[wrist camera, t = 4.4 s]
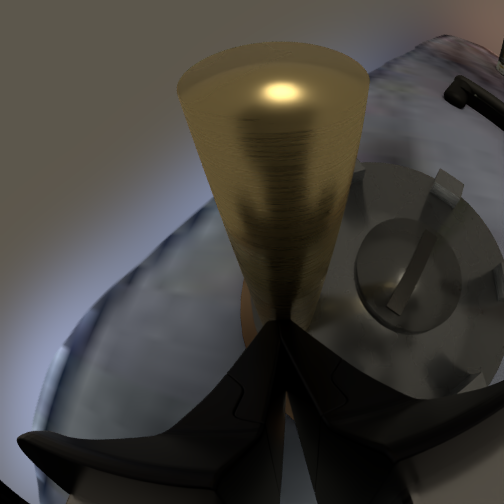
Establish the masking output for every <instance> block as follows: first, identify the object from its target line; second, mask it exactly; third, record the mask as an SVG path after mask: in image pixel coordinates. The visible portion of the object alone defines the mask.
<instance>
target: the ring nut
mask: <svg viewBox="0 0 504 504" xmlns="http://www.w3.org/2000/svg"><path fill="white" fill-rule="evenodd" d="M369 82H370V79H369V75H368V73H367V72H366V70H365V69H364V68H363V67H362V66H361V65H360V64H359V63H358V62H357V61H355V60H353V59H352V58H350V57H349V56H347V55H345V54H343V53H340V52H338V51H335V50H332V49H329V48H326V47H322V46H318V45H313V44H306V43H298V42H263V43H255V44H249V45H243V46H239V47H235V48H231V49H228V50H224V51H222V52H219V53H216V54H214V55H211V56H209V57H207V58H205V59H203V60H201V61H200V62H198V63H197V64H195V65H194V66H192V67H191V68H190V69H188V70H187V71H186V72H185V73H184V74H183V76H182V77H181V78H180V80H179V82H178V85H177V94H178V97H179V100H180V103H181V106H182V109H183V112H184V115H185V118H186V120H187V123H188V126H189V129H190V132H191V135H192V137H193V140H194V143H195V146H196V149H197V152H198V154H199V157H200V160H201V163H202V166H203V168H204V171H205V174H206V176H207V180H208V182H209V185H210V188H211V191H212V193H213V196H214V199H215V202H216V204H217V207H218V210H219V212H220V215H221V218H222V221H223V223H224V226H225V229H226V231H227V234H228V237H229V239H230V242H231V245H232V247H233V250H234V253H235V255H236V258H237V261H238V263H239V266H240V269H241V271H242V274H243V277H244V279H245V282H246V284H247V287H248V290H249V292H250V295H251V305H252V312H253V319H254V323H255V327H256V330H257V333H258V332H259V331H260V330H261V328H262V327H263V326H264V324H265V323H266V322H267V321H271V320H288V319H290V320H292V321H293V322H294V323H296V324H297V325H298V326H300V327H301V328H302V329H304V330H305V331H306V332H308V333H309V334H310V335H312V336H313V337H314V338H316V339H317V340H318V341H320V342H321V343H322V344H324V345H325V346H326V347H328V348H329V349H330V350H332V351H333V352H335V353H336V354H337V355H339V356H340V357H341V358H342V359H344V360H346V361H347V362H348V363H350V364H351V365H353V366H354V367H356V368H357V369H359V370H360V371H362V372H363V373H365V374H367V375H369V376H370V377H372V378H374V379H376V380H378V381H380V382H382V383H384V384H385V385H387V386H389V387H391V388H393V389H395V390H397V391H399V392H401V393H403V394H405V395H408V396H410V397H413V398H416V399H433V398H439V397H445V396H450V395H455V394H460V393H464V392H468V391H473V390H477V389H481V388H484V387H487V386H488V385H489V384H490V382H491V381H492V379H493V377H494V375H495V374H496V372H497V370H498V368H499V366H500V363H501V361H502V358H503V356H504V259H503V256H502V254H501V252H500V249H499V247H498V245H497V243H496V241H495V239H494V237H493V235H492V234H491V232H490V230H489V229H488V227H487V226H486V224H485V223H484V222H483V220H482V219H481V217H480V216H479V215H478V214H477V213H476V212H475V210H474V209H473V208H472V207H471V206H470V205H469V204H468V203H467V202H466V201H465V200H464V199H463V198H462V197H461V195H462V191H463V187H464V184H463V183H461V182H460V181H458V180H457V179H456V178H454V177H453V176H451V175H450V174H448V173H447V172H445V171H443V170H442V169H440V170H439V172H438V174H437V176H436V178H435V179H434V178H432V177H430V176H428V175H426V174H424V173H421V172H419V171H416V170H413V169H410V168H407V167H403V166H399V165H394V164H387V163H371V162H364V163H360V161H359V160H358V159H357V153H358V148H359V143H360V138H361V133H362V127H363V122H364V116H365V110H366V103H367V97H368V90H369Z"/></svg>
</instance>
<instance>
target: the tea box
mask: <svg viewBox="0 0 504 504" xmlns="http://www.w3.org/2000/svg"><path fill="white" fill-rule="evenodd" d="M496 69H497V70H498V71H499V72H500V73H501V74H503V75H504V40H503V44H502V49H501V53H500V56H499V60H498V64H497V67H496Z"/></svg>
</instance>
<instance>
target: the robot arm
mask: <svg viewBox="0 0 504 504" xmlns="http://www.w3.org/2000/svg"><path fill="white" fill-rule="evenodd" d="M286 391H287V395H288V399H289V402H290V406H291V410H292V413H293V417H294V421H295V424H296V428H297V431H298V435H299V439H300V442H301V446H302V449H303V453H304V457H305V460H306V464H307V467H308V471H309V475H310V478H311V482H312V485H313V489H314V492H315V496H316V500H317V503H318V504H504V380H503V381H501V382H499V383H496V384H493V385H491V386H487V387H484V388H481V389H477V390H473V391H468V392H464V393H460V394H455V395H450V396H445V397H439V398H433V399H416V398H413V397H410V396H408V395H405V394H403V393H401V392H399V391H397V390H395V389H393V388H391V387H389V386H387V385H385V384H384V383H382V382H380V381H378V380H376V379H374V378H372V377H370V376H369V375H367V374H365V373H363V372H362V371H360V370H359V369H357V368H356V367H354V366H353V365H351V364H350V363H348V362H347V361H346V360H344V359H342V358H341V357H340V356H339V355H337V354H336V353H335V352H333V351H332V350H330V349H329V348H328V347H326V346H325V345H324V344H322V343H321V342H320V341H318V340H317V339H316V338H314V337H313V336H312V335H310V334H309V333H308V332H306V331H305V330H304V329H302V328H301V327H300V326H298V325H297V324H296V323H294V322H293V321H292V320H290V319H288V320H271V321H267V322H266V323H265V324H264V326H263V327H262V328H261V330H260V331H259V332H258V334H257V335H256V336H255V338H254V339H253V340H252V342H251V343H250V344H249V346H248V347H247V348H246V349H245V351H244V352H243V353H242V355H241V356H240V357H239V359H238V360H237V361H236V362H235V364H234V365H233V366H232V368H231V369H230V370H229V371H228V373H227V374H226V375H225V376H224V377H223V379H222V380H221V381H220V382H219V384H218V385H217V386H216V387H215V388H214V389H213V390H212V391H211V392H210V393H209V394H208V395H207V396H206V397H205V398H204V399H203V400H202V401H201V402H200V403H199V404H198V405H197V406H196V407H195V408H194V409H192V410H191V411H190V412H189V413H188V414H187V415H186V416H185V417H183V418H182V419H181V420H180V421H179V422H178V423H177V424H175V425H174V426H173V427H172V428H170V429H169V430H167V431H165V432H163V433H161V434H158V435H155V436H148V437H138V438H125V439H103V440H91V439H77V438H71V437H67V436H64V435H61V434H58V433H55V432H51V431H31V432H27V433H25V434H22V435H21V436H19V437H18V438H17V443H18V445H19V447H20V448H21V450H22V451H23V452H24V453H25V455H26V456H27V457H28V458H29V459H30V460H31V461H32V462H33V463H34V464H35V465H36V466H37V467H38V468H39V469H40V470H41V471H43V472H44V473H45V474H46V475H47V476H48V477H49V478H50V479H51V480H53V481H54V482H55V483H56V484H57V485H58V486H60V487H61V488H62V489H63V490H64V491H66V492H67V493H68V494H69V497H68V500H67V502H66V504H280V493H281V480H282V466H283V450H284V432H285V409H286ZM0 504H29V503H28V502H26V501H25V500H24V499H22V498H21V497H20V496H19V495H17V494H16V493H15V492H14V491H12V490H11V489H10V488H9V487H8V486H6V485H5V484H4V483H3V482H2V481H1V480H0Z"/></svg>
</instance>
